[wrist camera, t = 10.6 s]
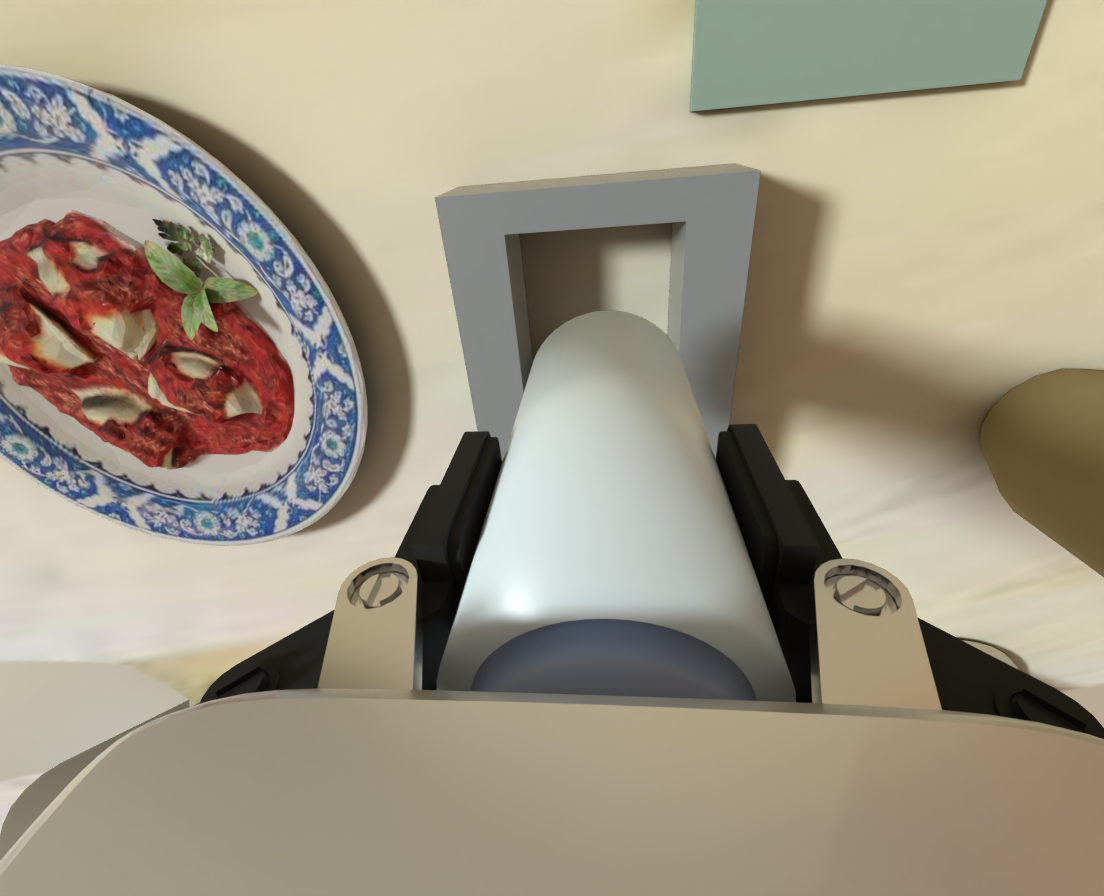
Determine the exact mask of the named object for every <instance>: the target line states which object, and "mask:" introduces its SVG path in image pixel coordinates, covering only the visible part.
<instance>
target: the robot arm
mask: <svg viewBox="0 0 1104 896" xmlns="http://www.w3.org/2000/svg"><path fill="white" fill-rule="evenodd" d="M716 462H717V465H718V467H719V470H720V473H721V476H722V479H723V482H724V485H725V488H726V491H727V493H728V496H729V499H730V502H731V505H732V508H733V511H734V514H735V517H736V519H737V522H738V525H739V528H740V531H741V534H742V537H743V540H744V543H745V545H746V548H747V551H748V554H749V557H750V560H751V563H752V566H753V569H754V571H755V574H756V577H757V580H758V583H759V586H760V589H761V592H762V595H763V597H764V600H765V603H766V606H767V609H768V612H769V615H770V618H771V621H772V623H773V626H774V629H775V632H776V635H777V638H778V641H779V644H780V647H781V649H782V652H783V655H784V658H785V661H786V664H787V667H788V670H789V673H790V675H791V679H792V682H793V685H794V688H795V692H796V702H771V701H745V700H720V699H694V698H665V697H636V696H607V695H576V694H546V693H513V692H477V691H442V690H437V676H438V672H439V667H440V664H441V661H442V657H443V654H444V651H445V648H446V644H447V641H448V638H449V634H450V631H451V628H452V625H453V621H454V618H455V615H456V612H457V608H458V605H459V602H460V599H461V595H462V592H463V589H464V586H465V582H466V579H467V576H468V573H469V569H470V566H471V563H472V560H473V556H474V553H475V550H476V547H477V543H478V540H479V537H480V534H481V530H482V527H483V524H484V520H485V517H486V514H487V511H488V507H489V504H490V501H491V498H492V494H493V491H494V488H495V485H496V481H497V478H498V475H499V472H500V468H501V465H502V458H501V451H500V445H499V440H498V438H497V437H491V435H490V433H489V432H488V431H479V432H465V433H464V434H463V437H462V439H461V441H460V443H459V445H458V447H457V450H456V452H455V454H454V456H453V458H452V460H451V463H450V465H449V467H448V469H447V471H446V473H445V476H444V478H443V480H442V482H441V484H440V485H432V486H430V488H429V489H428V490H427V493H426V495H425V497H424V499H423V501H422V503H421V505H420V507H419V509H418V511H417V513H416V515H415V517H414V519H413V521H412V523H411V525H410V527H409V529H408V531H407V533H406V535H405V537H404V539H403V541H402V543H401V545H400V547H399V549H398V551H397V554H396V556H395V558H394V557H391V558H381V559H378V560H374V561H371V562H369V563H367V564H365V565H363V566H361V567H359V568H358V569H356V570H355V571H354V572H352V573H351V574H350V575H349V576H348V577H347V578H346V580H345V581H344V582H343V583H342V585H341V588H340V590H339V593H338V597H337V602H336V606H335V610H333V611H331V612H330V613H328V614H326V615H324V616H323V617H321V618H319V619H317V620H315V621H314V622H312V623H310V624H308V625H307V626H305V627H303V628H301V629H299V630H298V631H296V632H294V633H292V634H290V635H289V636H287V637H285V638H283V639H282V640H280V641H278V642H276V643H274V644H273V645H271V646H269V647H267V648H266V649H264V650H262V651H260V652H258V653H257V654H255V655H253V656H251V657H250V658H248V659H246V660H244V661H242V662H241V663H239V664H237V665H235V666H234V667H232V668H231V669H230V670H228V671H227V672H225V673H224V674H222V675H221V676H220V677H219V678H218V679H217V680H216V681H215V682H214V683H213V684H212V685H211V686H210V687H209V689H208V690H207V691H206V693H205V694H204V696H203V697H202V699H201V701H200V702H199V703H197V704H195V705H193V704H192V703H191V701H190V700H187V701H185V702H183V703H182V704H179V705H178V706H176V707H173V708H171V709H169V710H167V711H165V712H163V713H161V714H159V715H157V716H155V717H153V718H151V719H149V720H147V721H145V722H143V723H141V724H139V725H137V726H135V727H133V728H131V729H129V730H127V731H125V732H123V733H121V734H119V735H117V736H115V737H113V738H111V739H109V740H107V741H104V742H103V743H100V744H99V745H96V746H94V747H93V748H90V749H88V750H86V751H84V752H82V753H80V754H78V755H76V756H74V757H72V758H70V759H68V760H66V761H64V762H62V763H60V764H59V765H57V766H55V767H54V768H52V769H51V770H49V771H47V772H46V773H44V774H43V775H41V776H40V777H39V778H38V779H37V780H36V781H35V782H33V783H32V784H31V785H30V786H29V787H28V788H26V789H25V790H24V792H23V793H22V794H21V795H20V797H19V798H18V799H17V800H16V802H15V803H14V804H13V805H12V806H11V808H10V810H9V812H8V814H7V817H6V819H5V821H4V823H3V826H2V830H1V834H0V896H1104V728H1103V727H1102V725H1101V724H1100V723H1099V722H1098V721H1097V720H1096V718H1095V717H1094V716H1093V715H1092V714H1091V713H1089V712H1088V711H1087V710H1086V709H1085V708H1083V707H1082V706H1081V705H1080V704H1079V703H1077V702H1076V701H1075V700H1073V699H1072V698H1070V697H1068V696H1066V695H1065V694H1063V693H1062V692H1060V691H1058V690H1057V689H1055V688H1053V687H1051V686H1049V685H1047V684H1045V683H1043V682H1041V681H1039V680H1038V679H1036V678H1034V677H1032V676H1030V675H1028V674H1026V673H1024V672H1022V671H1020V670H1019V669H1018V667H1017V666H1016V665H1015V663H1014V662H1013V661H1012V660H1011V659H1010V658H1009V657H1008V656H1007V655H1006V654H1004V653H1003V652H1001V651H999V650H997V649H995V648H993V647H991V646H988V645H984V644H981V643H978V642H972V641H965V640H960V639H958V638H956V637H954V636H952V635H950V634H948V633H946V632H945V631H943V630H941V629H939V628H937V627H935V626H933V625H931V624H929V623H927V622H925V621H923V620H921V619H919V618H917V614H916V610H915V607H914V603H913V599H912V597H911V595H910V593H909V591H908V589H907V588H906V587H905V585H904V584H903V583H902V582H901V581H900V580H899V579H898V578H897V577H895V576H894V575H892V574H891V573H889V572H888V571H886V570H885V569H882V568H880V567H878V566H876V565H874V564H871V563H868V562H864V561H860V560H855V559H843V558H842V557H841V555H840V553H839V551H838V549H837V548H836V546H835V544H834V542H833V541H832V539H831V537H830V535H829V533H828V532H827V530H826V528H825V526H824V525H823V523H822V521H821V519H820V517H819V516H818V514H817V512H816V510H815V509H814V507H813V505H812V503H811V501H810V500H809V498H808V496H807V494H806V493H805V491H804V489H803V487H802V486H801V484H800V483H799V482H798V481H796V480H785V479H784V477H783V475H782V473H781V471H780V469H779V467H778V465H777V463H776V462H775V460H774V458H773V456H772V454H771V452H770V450H769V448H768V446H767V444H766V442H765V441H764V439H763V437H762V435H761V433H760V431H759V429H758V427H757V426H756V424H742V425H729V426H728V429H727V431H720V432H719V435H718V443H717V452H716Z"/></svg>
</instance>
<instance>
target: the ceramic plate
mask: <svg viewBox="0 0 1104 896" xmlns="http://www.w3.org/2000/svg"><path fill="white" fill-rule="evenodd" d="M367 425H368V405H367V396H366V387H365V381H364V376H363V372H362V367H361V363H360V359H359V356H358V353H357V350H356V347H355V343H354V340H353V337H352V335H351V333H350V330H349V328H348V326H347V323H346V321H345V318H344V316H343V314H342V312H341V310H340V308H339V306H338V304H337V302H336V300H335V298H334V296H333V294H332V292H331V291H330V289H329V287H328V285H327V284H326V282H325V281H324V279H323V277H322V276H321V274H320V273H319V271H318V269H317V268H316V266H315V265H314V263H313V261H312V260H311V259H310V257H309V256H308V255H307V253H306V252H305V251H304V249H303V248H302V247H301V245H300V244H299V242H298V241H297V240H296V238H295V237H294V236H293V235H292V233H291V232H290V231H289V230H288V229H287V228H286V226H285V225H284V224H283V223H282V222H281V220H280V219H279V218H278V217H277V216H276V215H275V213H274V212H273V211H272V210H271V209H270V208H269V207H268V206H267V205H266V204H265V203H264V202H263V201H262V200H261V199H260V198H259V197H258V196H257V195H256V194H255V193H254V192H253V191H252V190H251V189H250V188H249V187H248V186H247V185H246V184H245V183H244V182H243V181H242V180H240V179H239V178H238V177H237V176H236V175H235V174H234V173H233V172H231V171H230V170H229V169H228V168H227V167H226V166H225V165H223V164H222V163H221V162H220V161H219V160H217V159H216V158H215V157H213V156H212V155H211V154H209V153H208V152H207V151H205V150H204V149H203V148H202V147H200V146H199V145H198V144H196V143H195V142H194V141H192V140H191V139H189V138H188V137H186V136H185V135H183V134H182V133H180V132H179V131H177V130H176V129H174V128H172V127H171V126H169V125H168V124H166V123H165V122H163V121H162V120H160V119H158V118H156V117H154V116H152V115H151V114H149V113H147V112H145V111H143V110H141V109H139V108H137V107H135V106H134V105H132V104H130V103H128V102H126V101H124V100H122V99H120V98H118V97H116V96H115V95H113V94H110V93H107V92H104V91H102V90H99V89H96V88H93V87H90V86H88V85H85V84H82V83H79V82H76V81H74V80H71V79H68V78H65V77H62V76H59V75H55V74H51V73H47V72H42V71H38V70H34V69H29V68H25V67H17V66H8V65H0V458H2V459H3V460H5V461H6V462H8V463H9V464H10V465H12V466H13V467H15V468H16V469H17V470H19V471H20V472H22V473H23V474H25V475H26V476H27V477H29V478H30V479H32V480H33V481H34V482H36V483H37V484H39V485H41V486H43V487H44V488H46V489H48V490H50V491H51V492H53V493H55V494H57V495H59V496H60V497H62V498H64V499H66V500H67V501H69V502H71V503H73V504H74V505H76V506H78V507H80V508H82V509H85V510H87V511H89V512H91V513H94V514H96V515H98V516H100V517H103V518H105V519H107V520H110V521H112V522H115V523H117V524H119V525H122V526H124V527H127V528H129V529H133V530H136V531H140V532H143V533H147V534H150V535H154V536H158V537H162V538H166V539H171V540H176V541H181V542H186V543H193V544H201V545H216V546H239V545H249V544H258V543H263V542H268V541H273V540H276V539H280V538H283V537H286V536H289V535H291V534H294V533H296V532H298V531H301V530H303V529H304V528H306V527H308V526H310V525H311V524H313V523H315V522H316V521H318V520H319V519H320V518H322V517H323V516H324V515H325V514H327V513H328V512H329V511H330V510H331V509H332V508H333V507H334V506H335V505H336V504H337V503H338V502H339V500H340V499H341V497H342V496H343V495H344V493H345V492H346V490H347V489H348V488H349V486H350V484H351V482H352V481H353V479H354V477H355V475H356V472H357V470H358V467H359V465H360V462H361V459H362V456H363V453H364V447H365V440H366V433H367Z"/></svg>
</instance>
